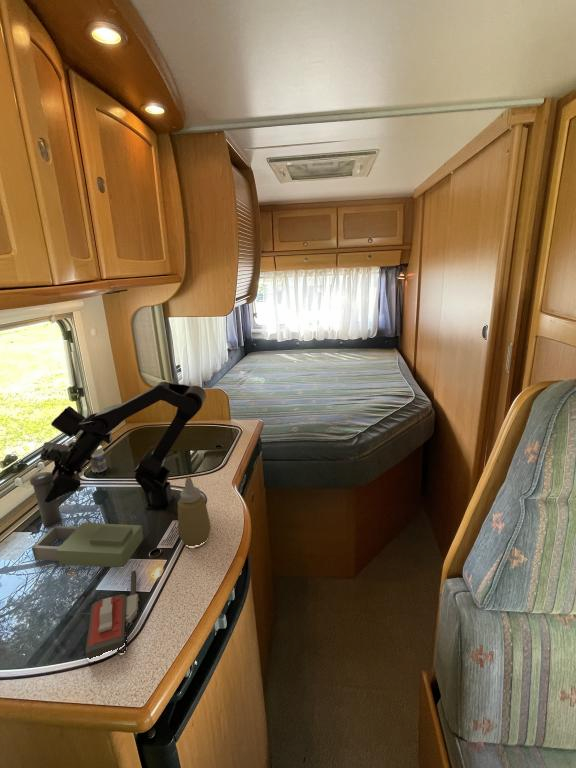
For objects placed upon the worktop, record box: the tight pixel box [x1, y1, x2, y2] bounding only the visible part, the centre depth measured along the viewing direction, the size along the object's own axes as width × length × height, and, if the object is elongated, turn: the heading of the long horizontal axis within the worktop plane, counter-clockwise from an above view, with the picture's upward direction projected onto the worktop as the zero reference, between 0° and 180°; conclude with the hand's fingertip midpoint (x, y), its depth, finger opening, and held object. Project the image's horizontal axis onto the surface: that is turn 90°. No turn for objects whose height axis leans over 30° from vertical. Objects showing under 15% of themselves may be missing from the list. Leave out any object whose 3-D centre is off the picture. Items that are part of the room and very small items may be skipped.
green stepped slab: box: [31, 522, 144, 568], centre depth 94 cm, size 23×10×5 cm, turn 84°
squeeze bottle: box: [177, 477, 212, 546], centre depth 94 cm, size 8×8×18 cm
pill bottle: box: [89, 444, 108, 473], centre depth 131 cm, size 5×5×8 cm
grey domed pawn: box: [29, 471, 62, 527], centre depth 104 cm, size 5×5×14 cm
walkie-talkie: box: [84, 570, 140, 659], centre depth 76 cm, size 9×4×20 cm
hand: (46, 493), depth 103 cm, fingers open, 9 cm apart
